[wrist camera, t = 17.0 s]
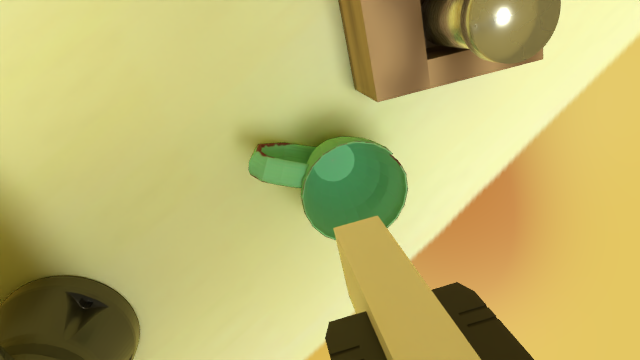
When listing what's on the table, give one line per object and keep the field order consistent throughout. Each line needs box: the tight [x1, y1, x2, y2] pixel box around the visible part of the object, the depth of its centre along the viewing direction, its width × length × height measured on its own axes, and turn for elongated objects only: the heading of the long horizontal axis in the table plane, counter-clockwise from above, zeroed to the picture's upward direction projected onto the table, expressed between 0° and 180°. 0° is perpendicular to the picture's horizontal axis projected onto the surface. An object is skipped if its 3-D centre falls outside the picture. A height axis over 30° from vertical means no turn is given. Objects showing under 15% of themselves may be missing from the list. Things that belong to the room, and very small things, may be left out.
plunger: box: [421, 0, 561, 64], centre depth 33 cm, size 6×6×11 cm
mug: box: [249, 136, 408, 240], centre depth 42 cm, size 15×10×10 cm
